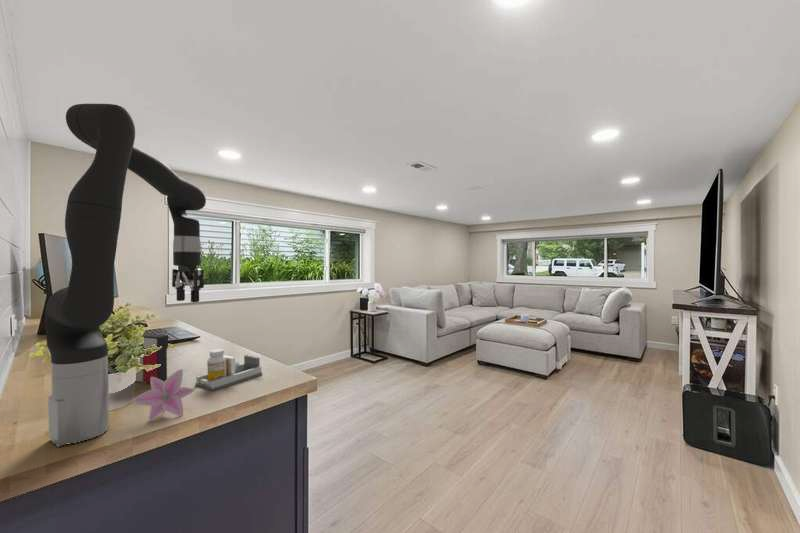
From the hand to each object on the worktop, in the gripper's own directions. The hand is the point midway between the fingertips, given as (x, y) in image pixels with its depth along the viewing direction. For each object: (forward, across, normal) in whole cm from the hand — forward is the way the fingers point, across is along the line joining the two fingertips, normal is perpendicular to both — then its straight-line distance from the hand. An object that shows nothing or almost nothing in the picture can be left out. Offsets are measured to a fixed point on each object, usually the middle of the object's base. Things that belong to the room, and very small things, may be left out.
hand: (187, 301), depth 108 cm
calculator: (+26, +12, +6) cm, 30 cm away
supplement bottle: (+25, -9, -4) cm, 27 cm away
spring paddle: (+25, -9, -9) cm, 28 cm away
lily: (+26, -18, +15) cm, 35 cm away
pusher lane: (+26, -9, -8) cm, 29 cm away
